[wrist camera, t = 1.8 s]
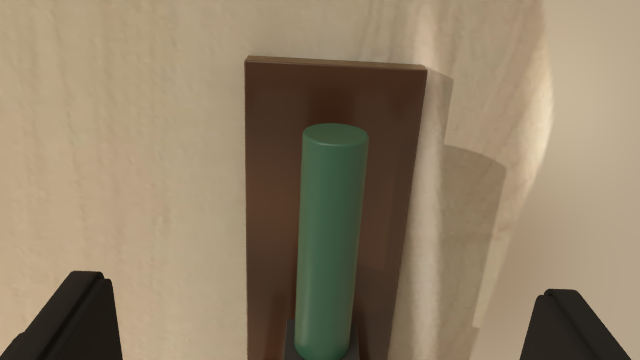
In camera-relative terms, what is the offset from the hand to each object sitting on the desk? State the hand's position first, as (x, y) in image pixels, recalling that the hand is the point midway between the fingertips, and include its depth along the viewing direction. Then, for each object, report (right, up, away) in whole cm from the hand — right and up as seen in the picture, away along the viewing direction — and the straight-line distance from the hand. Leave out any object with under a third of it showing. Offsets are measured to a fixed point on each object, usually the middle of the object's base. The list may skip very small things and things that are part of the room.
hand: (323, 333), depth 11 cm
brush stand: (0, -1, +13) cm, 13 cm away
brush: (0, -1, +10) cm, 10 cm away
